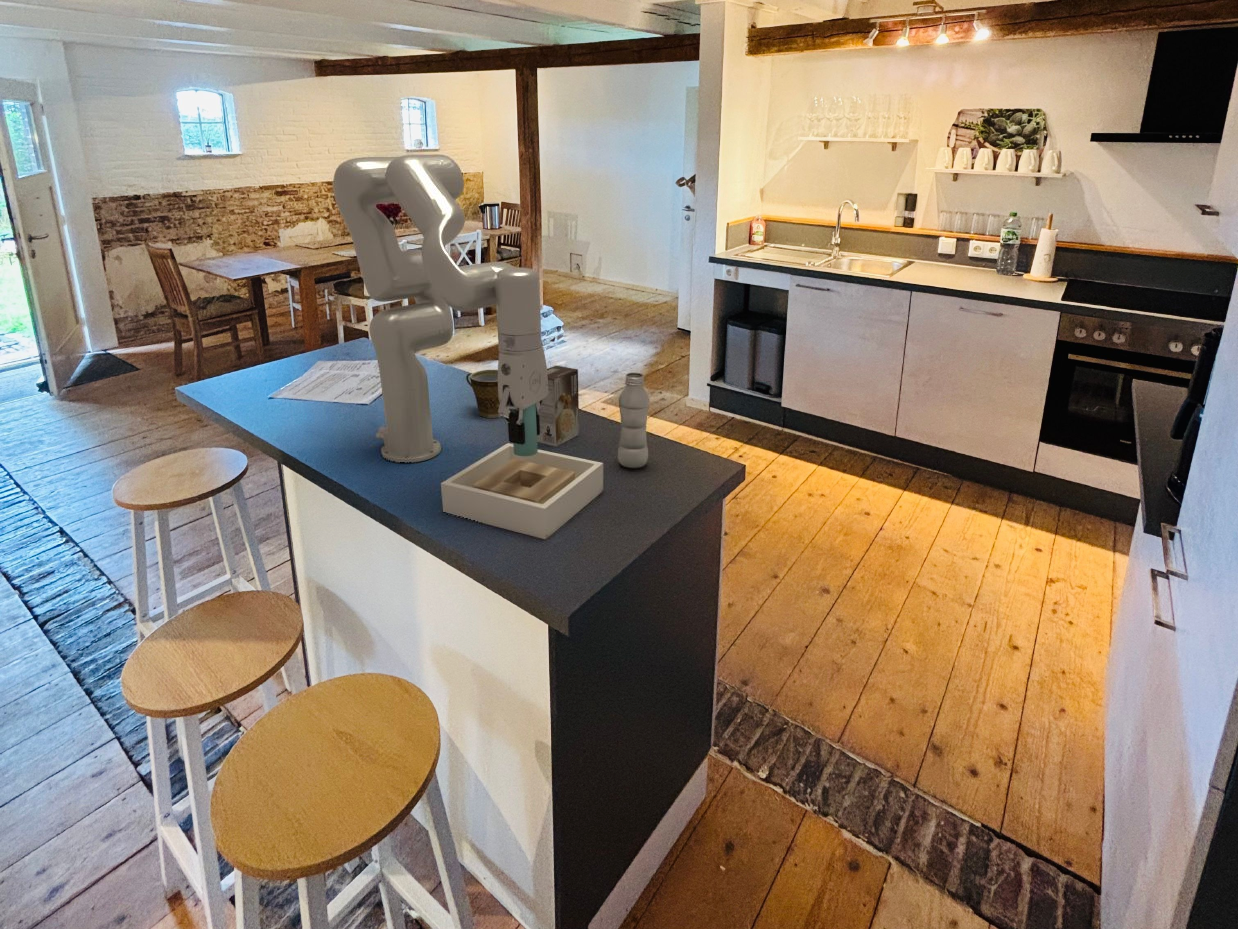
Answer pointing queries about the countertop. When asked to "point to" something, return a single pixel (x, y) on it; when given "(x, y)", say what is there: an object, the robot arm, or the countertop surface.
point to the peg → (528, 433)
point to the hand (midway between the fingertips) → (524, 437)
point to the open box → (517, 511)
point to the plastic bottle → (633, 422)
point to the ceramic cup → (486, 392)
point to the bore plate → (526, 481)
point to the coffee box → (560, 407)
